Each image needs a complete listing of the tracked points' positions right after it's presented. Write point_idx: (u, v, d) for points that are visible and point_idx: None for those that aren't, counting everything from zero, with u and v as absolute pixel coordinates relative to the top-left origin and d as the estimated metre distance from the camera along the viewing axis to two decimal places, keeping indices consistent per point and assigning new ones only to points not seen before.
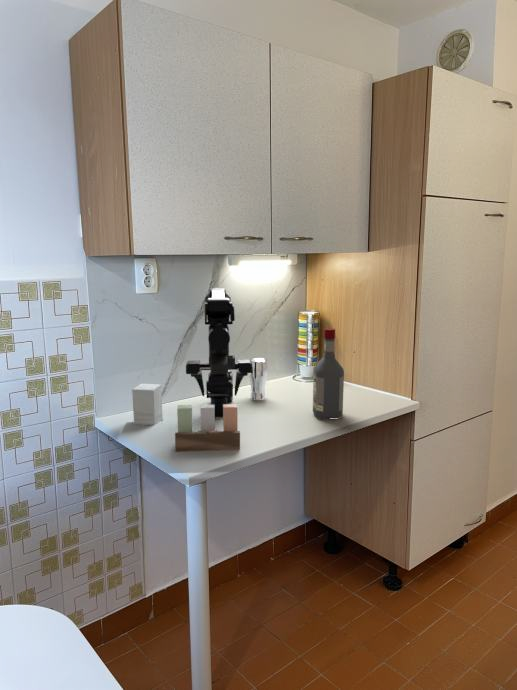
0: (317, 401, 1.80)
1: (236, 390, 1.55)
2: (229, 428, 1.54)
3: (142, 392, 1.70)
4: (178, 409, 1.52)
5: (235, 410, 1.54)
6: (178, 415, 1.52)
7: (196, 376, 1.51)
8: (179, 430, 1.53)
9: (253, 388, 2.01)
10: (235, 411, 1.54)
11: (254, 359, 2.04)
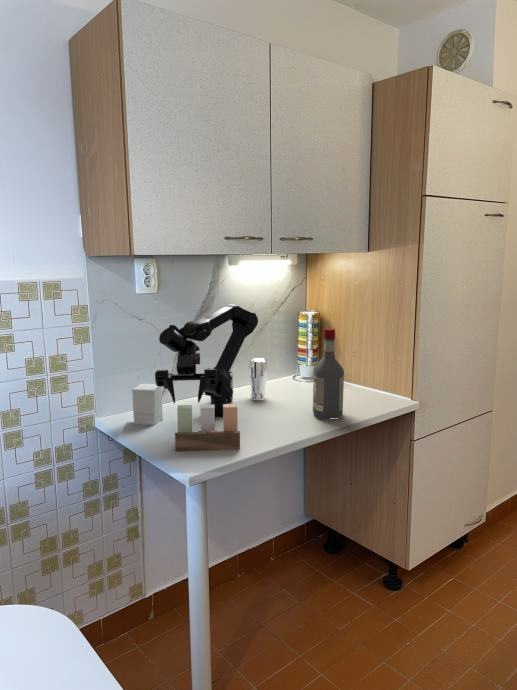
0: (317, 401, 1.80)
1: (199, 395, 1.61)
2: (229, 428, 1.54)
3: (142, 392, 1.70)
4: (178, 409, 1.52)
5: (235, 410, 1.54)
6: (178, 415, 1.52)
7: (168, 379, 1.61)
8: (179, 430, 1.53)
9: (253, 388, 2.01)
10: (235, 411, 1.54)
11: (254, 359, 2.04)
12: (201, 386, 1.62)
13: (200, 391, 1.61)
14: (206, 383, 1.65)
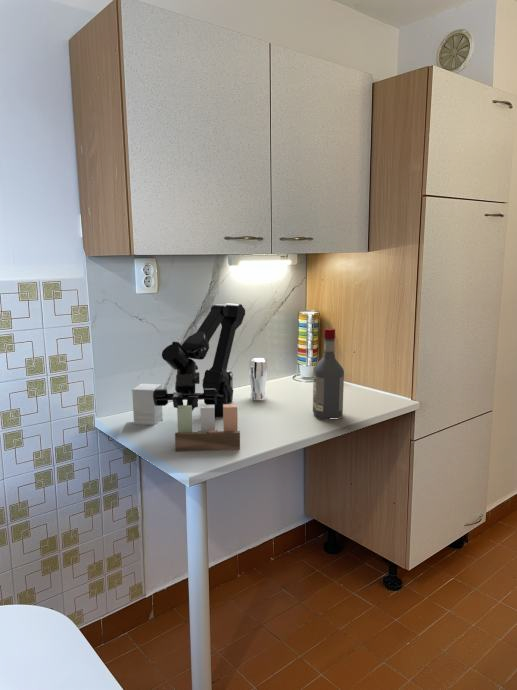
0: (317, 401, 1.80)
1: None
2: (229, 428, 1.54)
3: (142, 392, 1.70)
4: (178, 409, 1.52)
5: (235, 410, 1.54)
6: (178, 415, 1.52)
7: (177, 398, 1.57)
8: (179, 430, 1.53)
9: (253, 388, 2.01)
10: (235, 411, 1.54)
11: (254, 359, 2.04)
12: None
13: None
14: (194, 403, 1.60)
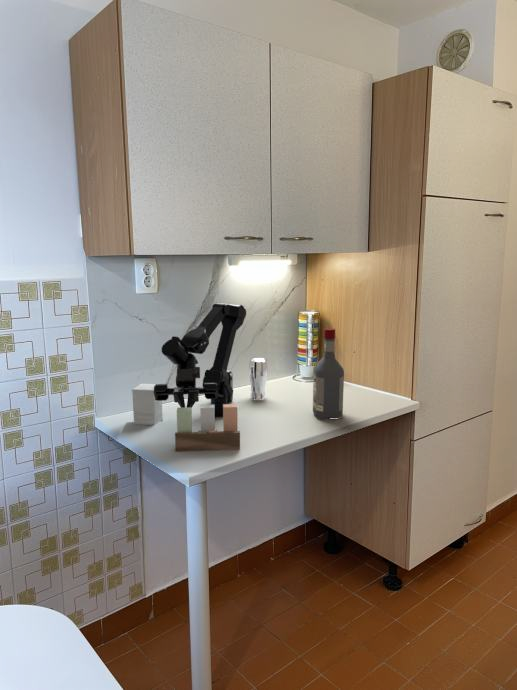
0: (317, 401, 1.80)
1: None
2: (229, 428, 1.54)
3: (142, 392, 1.70)
4: (178, 411, 1.50)
5: (235, 410, 1.54)
6: (178, 418, 1.50)
7: (178, 393, 1.57)
8: None
9: (253, 388, 2.01)
10: (235, 411, 1.54)
11: (254, 359, 2.04)
12: (189, 401, 1.58)
13: (188, 406, 1.57)
14: (195, 398, 1.60)
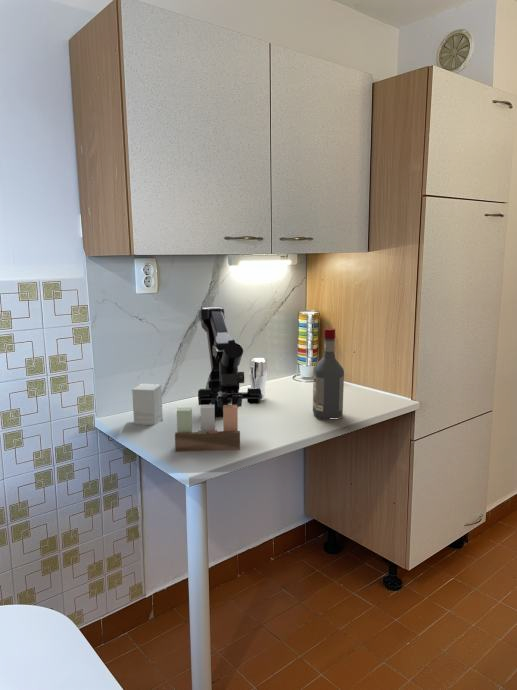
0: (317, 401, 1.80)
1: None
2: (229, 429, 1.54)
3: (142, 392, 1.70)
4: (178, 411, 1.50)
5: (235, 411, 1.53)
6: (178, 418, 1.50)
7: (223, 398, 1.58)
8: None
9: None
10: (235, 412, 1.53)
11: (254, 359, 2.04)
12: None
13: None
14: (238, 402, 1.61)
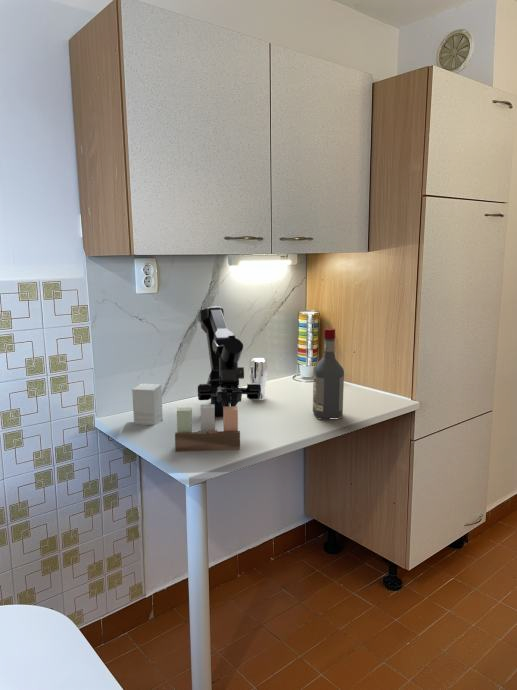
0: (317, 401, 1.80)
1: None
2: None
3: (142, 392, 1.70)
4: (178, 411, 1.50)
5: (235, 412, 1.51)
6: (178, 418, 1.50)
7: (222, 393, 1.58)
8: None
9: None
10: (235, 413, 1.51)
11: (254, 359, 2.04)
12: (233, 401, 1.58)
13: None
14: (238, 398, 1.61)
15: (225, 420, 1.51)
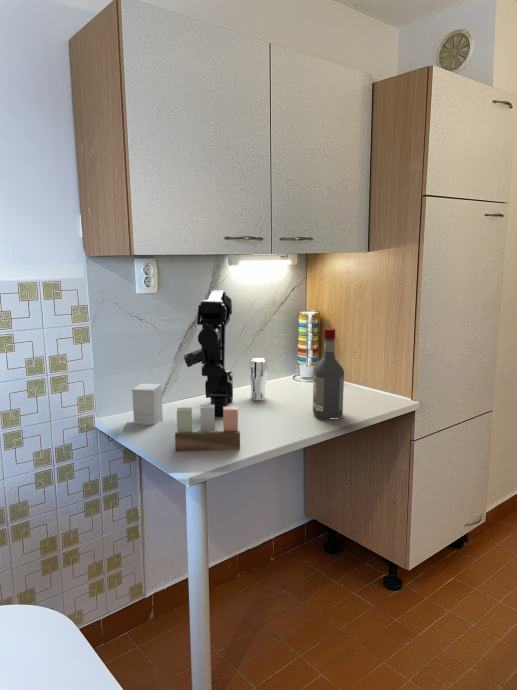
0: (317, 401, 1.80)
1: (209, 386, 1.65)
2: None
3: (142, 392, 1.70)
4: (178, 411, 1.50)
5: (235, 412, 1.51)
6: (178, 418, 1.50)
7: None
8: None
9: (253, 388, 2.01)
10: (235, 413, 1.51)
11: (254, 359, 2.04)
12: (208, 378, 1.64)
13: (208, 383, 1.64)
14: None
15: (225, 420, 1.51)
